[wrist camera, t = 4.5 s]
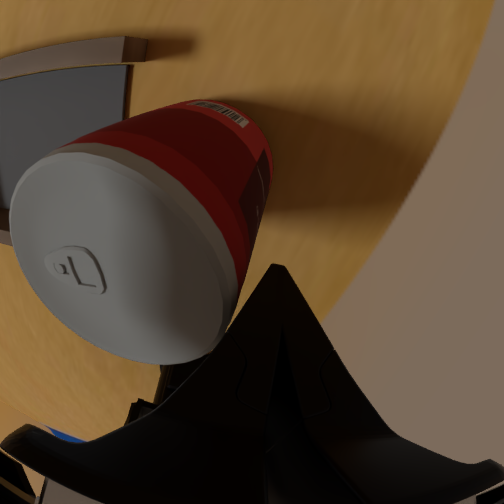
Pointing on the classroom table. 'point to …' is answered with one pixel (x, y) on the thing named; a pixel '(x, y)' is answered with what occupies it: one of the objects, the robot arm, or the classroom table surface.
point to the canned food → (146, 228)
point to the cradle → (65, 57)
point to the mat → (54, 115)
